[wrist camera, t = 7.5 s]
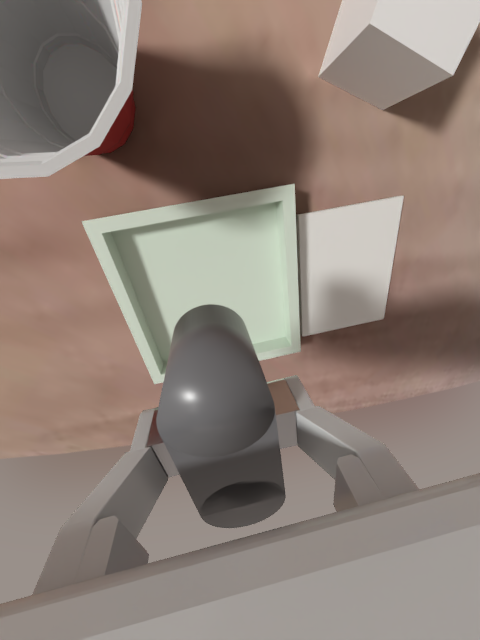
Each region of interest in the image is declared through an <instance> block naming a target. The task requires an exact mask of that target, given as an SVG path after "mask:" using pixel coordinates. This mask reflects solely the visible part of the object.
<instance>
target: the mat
mask: <svg viewBox="0 0 480 640" xmlns="http://www.w3.org/2000/svg"><path fill="white" fill-rule="evenodd" d="M403 198H404V196H395V197H390V198H384V199H379V200H374V201H368V202H363V203H358V204H352V205H347V206H341V207H336V208H331V209H325V210H320V211H315V212H309V213H304V214H298V215H297V243H298V272H299V301H300V329H301V335H302V337H304V336H308V335H313V334H317V333H322V332H326V331H331V330H336V329H340V328H345V327H349V326H354V325H358V324H363V323H367V322H372V321H376V320H381V319H384V314H385V308H386V302H387V296H388V290H389V284H390V278H391V271H392V265H393V259H394V253H395V247H396V241H397V235H398V229H399V222H400V216H401V210H402V204H403Z"/></svg>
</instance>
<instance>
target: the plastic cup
mask: <svg viewBox="0 0 480 640" xmlns="http://www.w3.org/2000/svg"><path fill="white" fill-rule="evenodd" d="M141 8H142V2H141V0H0V179H7V178H27V177H46V176H50V175H52V174H53V173H55V172H57V171H58V170H60V169H62V168H64V167H65V166H67V165H69V164H70V163H72V162H74V161H76V160H77V159H79V158H81V157H82V156H87V155H100V154H102V153H111V152H112V151H114V150H116V149H117V148H119V147H121V146H122V145H124V144H125V142H126V140H127V139H128V137H129V135H130V133H131V132H132V130H133V125H134V117H135V104H134V99H133V89H132V86H133V78H134V69H135V60H136V52H137V43H138V34H139V26H140V17H141Z"/></svg>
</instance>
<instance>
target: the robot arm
mask: <svg viewBox="0 0 480 640" xmlns="http://www.w3.org/2000/svg"><path fill="white" fill-rule="evenodd" d="M267 385H268V387H269V390H270V393H271V395H272V398H273V401H274V405H275V413H276V421H277V429H278V438H279V446H280V449H282V448H287V447H291V446H296V445H298V446H299V447H300V448H301V449H302V450H303V451H304V452H305V453H306V454H307V455H309V457H311V458H312V459H313V460H314V461H315V462H316V463H317V464H318V465H319V466H320V467H322V468H323V469H324V470H325V471H326V472H327V473H328V474H329V475H330V476H331V477H332V478H334V479H335V492H334V503H333V505H334V507H335V509H336V511H337V512H335V513H332V514H328V515H324V516H321V517H317V518H313V519H310V520H306V521H302V522H299V523H295V524H291V525H288V526H284V527H280V528H277V529H273V530H269V531H266V532H262V533H258V534H255V535H251V536H247V537H244V538H240V539H237V540H233V541H229V542H225V543H222V544H218V545H214V546H211V547H207V548H204V549H200V550H196V551H192V552H189V553H185V554H182V555H178V556H174V557H171V558H167V559H163V560H159V561H156V562H152V563H148V558H149V554H148V553H147V551H146V550H145V549H144V548H143V546H142V545H141V544H140V543H139V542H138V541H137V540H136V538H137V536H138V534H139V533H140V531H141V529H142V527H143V525H144V523H145V522H146V520H147V518H148V516H149V514H150V512H151V510H152V509H153V506H154V505H155V503H156V500H157V499H158V497H159V496H160V494H161V492H162V490H163V488H164V486H165V484H166V482H167V481H168V477H172V476H176V475H179V472H178V470H177V468H176V466H175V464H174V462H173V460H172V458H171V456H170V454H169V452H168V450H167V448H166V446H165V444H164V442H163V440H162V438H161V436H160V434H159V432H158V429H157V424H156V418H157V413H158V407H157V408H153V409H148V410H143V411H142V413H141V414H140V417H139V420H138V424H137V428H136V431H135V435H134V438H133V442H132V445H131V449H130V452H126V453H125V454H124V455H123V456H122V457H121V458H120V460H119V461H118V462H117V463H116V464H115V466H114V467H113V468H112V469H111V470H110V471H109V472H108V474H107V475H106V476H105V477H104V478H103V479H102V481H101V482H100V483H99V484H98V485H97V486H96V488H95V489H94V490H93V491H92V492H91V493H90V494H89V496H88V497H87V498H86V499H85V500H84V502H83V503H82V504H81V505H80V506H79V507H78V508H77V510H76V511H75V512H74V513H73V514H72V515H71V517H70V518H69V519H68V520H67V521H66V522H65V523H64V525H63V526H62V527H61V529H60V531H59V533H58V536H57V538H56V540H55V543H54V545H53V548H52V550H51V552H50V555H49V557H48V559H47V562H46V564H45V566H44V569H43V571H42V573H41V576H40V578H39V580H38V583H37V585H36V588H35V590H34V592H33V594H32V595H31V596H28V597H24V598H21V599H17V600H13V601H9V602H6V603H2V604H0V640H480V473H479V474H475V475H471V476H467V477H464V478H460V479H456V480H453V481H449V482H445V483H442V484H438V485H434V486H431V487H427V488H424V489H420V490H419V489H418V487H417V486H416V484H415V483H414V482H413V481H412V479H411V478H410V477H409V475H408V474H407V473H406V471H405V470H404V469H403V467H402V466H401V465H400V464H399V462H398V461H397V459H396V458H395V457H394V456H393V454H392V453H391V452H390V450H389V449H388V448H387V447H386V445H385V444H383V443H381V442H380V441H378V440H376V439H375V438H373V437H371V436H369V435H368V434H366V433H364V432H363V431H361V430H359V429H358V428H356V427H354V426H352V425H351V424H349V423H347V422H346V421H344V420H342V419H341V418H339V417H337V416H335V415H334V414H332V413H330V412H329V411H327V410H325V409H323V408H322V407H320V406H316V407H315V406H314V404H313V402H312V400H311V399H310V397H309V395H308V393H307V392H306V390H305V388H304V386H303V384H302V383H301V381H300V379H299V377H298V376H297V375H295V376H291V377H287V378H284V379H278V380H274V381H270V382H267Z"/></svg>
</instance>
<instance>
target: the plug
mask: <svg viewBox="0 0 480 640" xmlns="http://www.w3.org/2000/svg"><path fill="white" fill-rule="evenodd" d="M156 424H157V429H158V432H159V434H160V436H161V438H162V440H163V442H164V444H165V446H166V448H167V450H168V452H169V454H170V456H171V458H172V460H173V462H174V464H175V466H176V468H177V470H178V472H179V474H180V476H181V478H182V480H183V482H184V484H185V486H186V488H187V490H188V492H189V494H190V496H191V498H192V500H193V502H194V504H195V506H196V508H197V510H198V512H199V514H200V516H201V518H202V519H203V520H204V521H205V522H206V523H208V524H210V525H212V526H215V527H222V528H237V527H243V526H248V525H251V524H255V523H257V522H260V521H262V520H264V519H266V518H268V517H270V516H271V515H273V514H274V513H275V512H277V511H278V510H279V509H280V507H281V506H282V505H283V503H284V501H285V488H284V479H283V471H282V463H281V454H280V446H279V438H278V429H277V421H276V413H275V405H274V401H273V398H272V395H271V393H270V390H269V387H268V385H267V382H266V379H265V377H264V374H263V371H262V368H261V366H260V363H259V360H258V358H257V355H256V352H255V349H254V347H253V344H252V341H251V339H250V336H249V333H248V331H247V328H246V325H245V323H244V321H243V319H242V318H241V317H240V316H239V315H238V314H237V313H236V312H235V311H233V310H232V309H230V308H228V307H225V306H221V305H215V304H207V305H201V306H198V307H195V308H193V309H191V310H189V311H188V312H186V313H185V314H184V315H183V316H182V317H181V318H180V319H179V320H178V322H177V324H176V326H175V328H174V332H173V337H172V342H171V347H170V352H169V357H168V362H167V367H166V372H165V377H164V382H163V387H162V392H161V397H160V402H159V407H158V413H157V418H156Z"/></svg>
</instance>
